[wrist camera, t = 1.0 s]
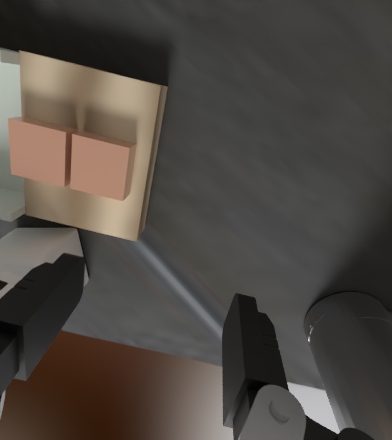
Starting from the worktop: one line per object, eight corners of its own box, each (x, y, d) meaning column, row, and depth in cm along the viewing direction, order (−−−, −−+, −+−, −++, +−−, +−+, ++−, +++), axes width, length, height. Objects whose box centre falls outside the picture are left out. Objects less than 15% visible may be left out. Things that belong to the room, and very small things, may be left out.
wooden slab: (167, 86, 24) (161, 86, 21) (144, 228, 30) (136, 241, 27) (42, 55, 24) (19, 50, 21) (43, 203, 30) (25, 215, 27)
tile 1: (136, 143, 23) (129, 148, 21) (130, 193, 25) (123, 201, 23) (83, 130, 23) (72, 133, 21) (81, 181, 25) (70, 188, 23)
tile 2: (77, 129, 23) (65, 132, 21) (75, 180, 25) (64, 187, 23) (24, 116, 23) (7, 118, 21) (26, 168, 25) (11, 174, 23)
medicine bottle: (34, 279, 34) (-54, 366, 23) (16, 226, 31) (-94, 297, 20) (90, 280, 33) (27, 370, 22) (77, 226, 30) (-2, 300, 20)
